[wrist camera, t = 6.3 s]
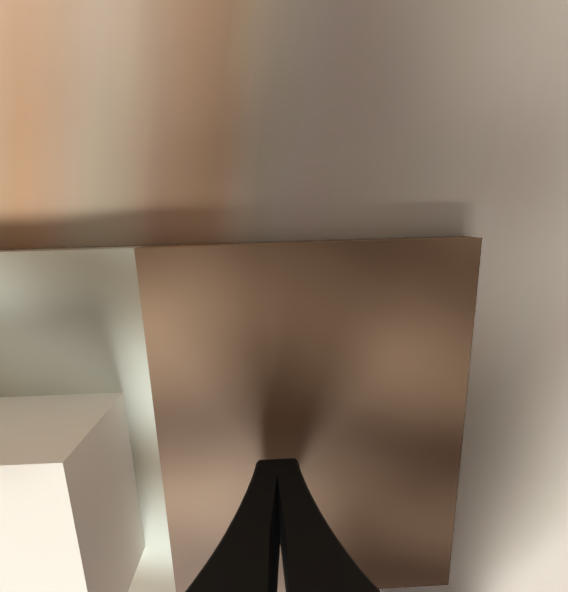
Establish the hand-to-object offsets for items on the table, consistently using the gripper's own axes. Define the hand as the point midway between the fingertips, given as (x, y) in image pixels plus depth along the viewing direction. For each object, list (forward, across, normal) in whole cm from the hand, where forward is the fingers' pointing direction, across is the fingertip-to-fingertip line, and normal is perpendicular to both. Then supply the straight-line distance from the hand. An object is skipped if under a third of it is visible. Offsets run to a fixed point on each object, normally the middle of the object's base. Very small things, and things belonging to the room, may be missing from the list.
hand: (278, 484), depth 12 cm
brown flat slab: (+2, +4, -1) cm, 5 cm away
